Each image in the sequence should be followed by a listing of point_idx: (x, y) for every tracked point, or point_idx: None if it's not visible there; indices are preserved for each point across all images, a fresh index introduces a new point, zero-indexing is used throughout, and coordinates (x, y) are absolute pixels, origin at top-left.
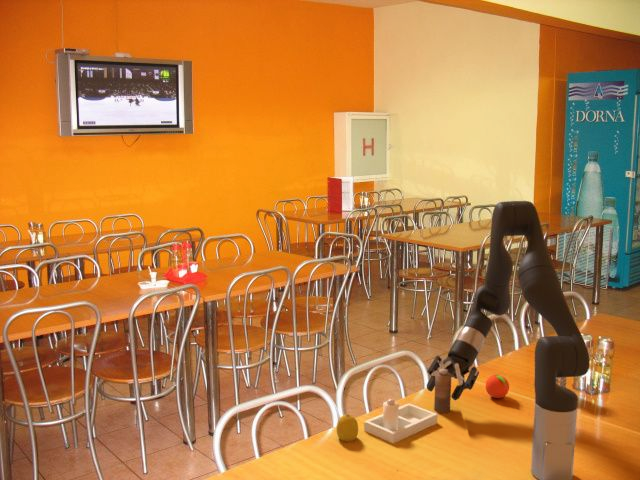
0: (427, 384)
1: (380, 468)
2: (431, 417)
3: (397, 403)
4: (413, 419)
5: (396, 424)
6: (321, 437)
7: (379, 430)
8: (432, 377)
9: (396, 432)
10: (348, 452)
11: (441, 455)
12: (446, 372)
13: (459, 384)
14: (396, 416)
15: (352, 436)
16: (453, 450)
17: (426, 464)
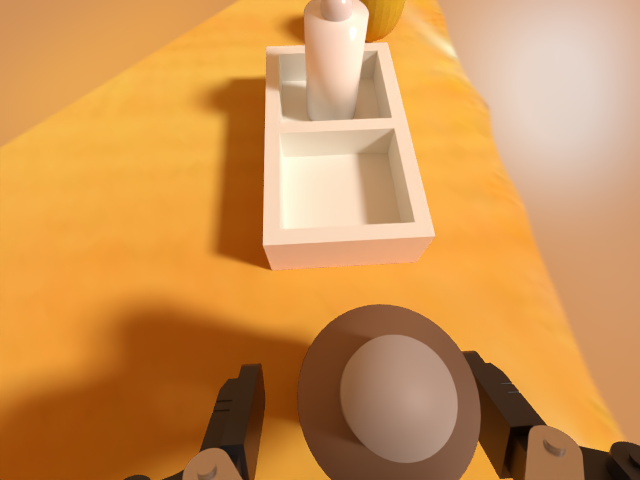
0: (497, 372)
1: (229, 27)
2: (264, 209)
3: (321, 27)
4: (352, 217)
5: (306, 85)
6: (431, 26)
7: None
8: (523, 419)
9: (266, 56)
10: None
11: (148, 146)
12: (341, 386)
13: (216, 456)
14: (305, 56)
15: None
16: (133, 189)
17: (156, 93)
